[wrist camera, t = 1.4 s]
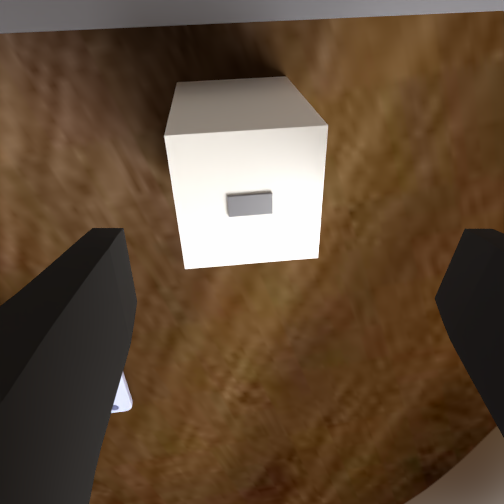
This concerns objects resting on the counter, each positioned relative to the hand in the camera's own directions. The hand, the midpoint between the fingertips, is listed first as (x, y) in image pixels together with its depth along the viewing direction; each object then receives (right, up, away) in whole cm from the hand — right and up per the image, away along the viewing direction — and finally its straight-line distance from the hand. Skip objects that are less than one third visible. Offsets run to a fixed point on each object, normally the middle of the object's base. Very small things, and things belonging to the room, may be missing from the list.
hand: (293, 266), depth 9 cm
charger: (-2, +5, +7) cm, 9 cm away
